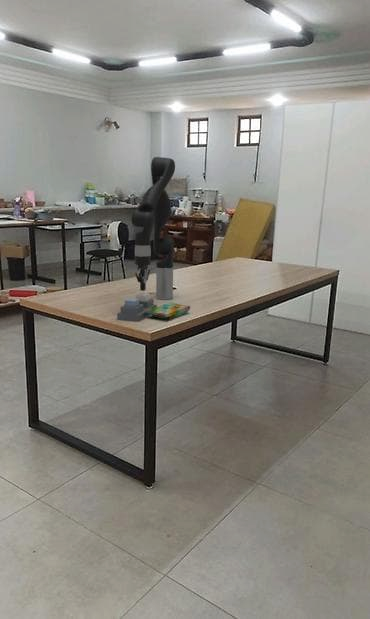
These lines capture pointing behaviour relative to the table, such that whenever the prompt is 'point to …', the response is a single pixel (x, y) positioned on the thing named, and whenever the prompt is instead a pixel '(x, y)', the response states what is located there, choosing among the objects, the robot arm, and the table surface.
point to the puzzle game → (168, 310)
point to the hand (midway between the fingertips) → (142, 290)
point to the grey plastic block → (136, 311)
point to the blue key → (131, 302)
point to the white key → (143, 296)
